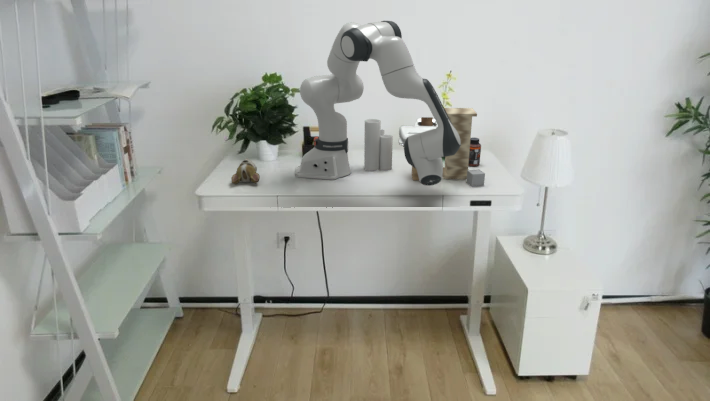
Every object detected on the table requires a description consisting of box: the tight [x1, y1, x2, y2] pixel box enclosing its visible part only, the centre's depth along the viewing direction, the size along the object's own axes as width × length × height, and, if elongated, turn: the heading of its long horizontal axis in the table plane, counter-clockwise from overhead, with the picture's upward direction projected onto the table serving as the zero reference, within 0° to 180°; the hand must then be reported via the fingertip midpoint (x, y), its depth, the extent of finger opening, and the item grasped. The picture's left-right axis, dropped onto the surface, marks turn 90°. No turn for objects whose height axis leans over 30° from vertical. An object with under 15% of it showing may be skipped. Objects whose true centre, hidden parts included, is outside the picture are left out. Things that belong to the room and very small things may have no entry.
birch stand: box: [442, 107, 478, 180], centre depth 215 cm, size 11×10×26 cm
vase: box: [363, 118, 394, 172], centre depth 224 cm, size 11×7×20 cm, turn 97°
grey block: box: [465, 168, 486, 188], centre depth 209 cm, size 5×5×5 cm
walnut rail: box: [418, 116, 434, 126], centre depth 209 cm, size 4×20×4 cm, turn 179°
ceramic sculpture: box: [231, 157, 260, 185], centre depth 212 cm, size 11×9×15 cm
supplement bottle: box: [468, 137, 482, 167], centre depth 230 cm, size 6×6×11 cm
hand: (426, 120), depth 202 cm, fingers closed on walnut rail, 4 cm apart
